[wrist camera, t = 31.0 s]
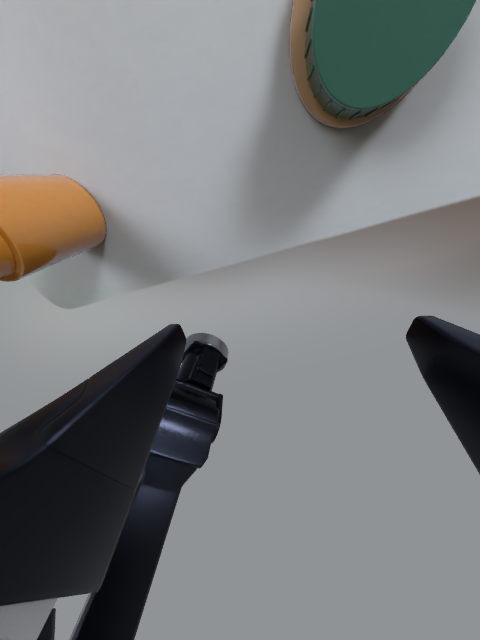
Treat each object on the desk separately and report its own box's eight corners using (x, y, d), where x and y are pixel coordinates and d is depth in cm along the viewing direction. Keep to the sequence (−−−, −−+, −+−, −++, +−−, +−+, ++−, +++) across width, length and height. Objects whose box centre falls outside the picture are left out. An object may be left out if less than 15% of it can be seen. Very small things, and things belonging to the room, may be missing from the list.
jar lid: (497, -158, 7) (578, -276, 5) (418, 106, 11) (448, 93, 9) (309, -82, 8) (320, -154, 6) (300, 131, 12) (305, 123, 10)
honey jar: (102, 258, 20) (-4, 312, 12) (40, 222, 19) (-126, 258, 11) (111, 205, 17) (-26, 234, 9) (37, 155, 15) (-209, 138, 7)
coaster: (347, 160, 13) (349, 160, 13) (259, 51, 11) (258, 46, 10) (506, -24, 9) (519, -35, 8) (415, -280, 6) (426, -316, 6)
